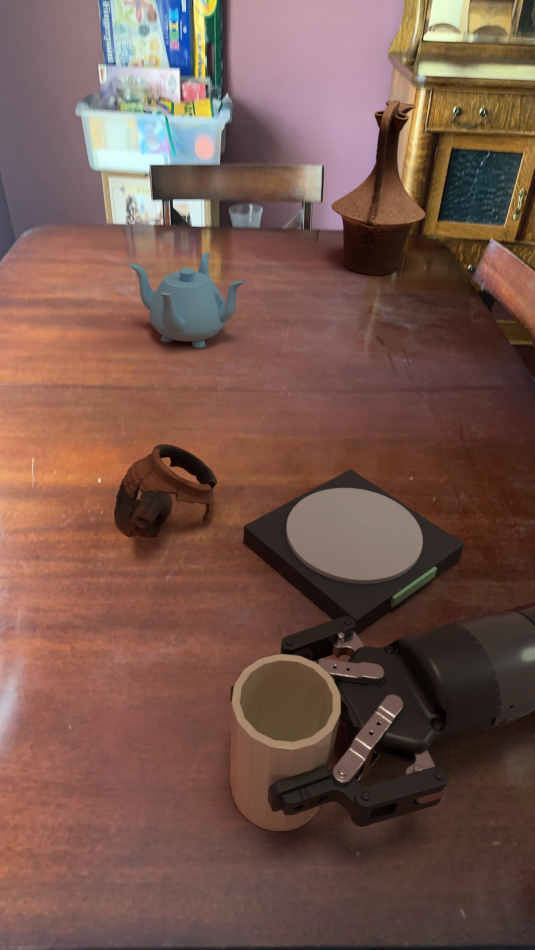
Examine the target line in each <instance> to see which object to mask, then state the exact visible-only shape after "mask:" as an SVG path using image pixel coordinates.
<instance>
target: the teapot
mask: <svg viewBox="0 0 535 950" xmlns="http://www.w3.org/2000/svg"><path fill="white" fill-rule="evenodd" d="M209 261H210V253H209V251H206V252H205V251H204V252H203V254H202V255H201V257H200V261H199V264H198V269H197V271H196V270H195V269H194V268H192V267H182V268H180V269H179V270H178V271H175V272H172V273H169V274H167V275H166V276H165V277H164V278H163V279H162V280H161V281H160V283H159V285H158V287H157V289H156V290H155V291H154V290H153V289H152V287H151V285H150V282H149V277H148V274H147V272H146V270H145V269H144V268H143V267H142V266H141V265H139V264H136V263H132V262H130V263H128V264H129V266H130V267H131V268H132V269H133V270H134V271H135V273H136V275H137V277H138V282H139V293H140V299H141V301H142V304H143V305H144V306H145V307H146V309H148V310H149V312H148V319H149V323H150V324H151V326H152V327H153V328H154V329H155V330H156V332H158V333H159V334H160V335H162V336H161V338H160V341H161V342H163V343H172V342H174V341H179V342H191V346H192V347H193V348H196V349H197V348H198V349H200V348H204V347H206V342H205V340H207V339H210V338H212V337H214V336H216V335H217V334H218V333H219V332H220V331H221V330H222V329H223V328H224V326H225V325H226V324H227V321H229V320H230V319H231V318H232V317H233V316H234V314H235V312H236V309H237V293H238V289H239V287H240V286H241V285H242V284H244V283H245V282H246V279H240V280H235V281H233V282H231V283H230V284H229V286H228V289H227V295H226V300H225V301H224V298H223V296H222V294H221V292H220V290H219V288H218V287H217V285H216V284H215V282H214V281H213V280H212V279H211V276H210V269H209Z"/></svg>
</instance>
